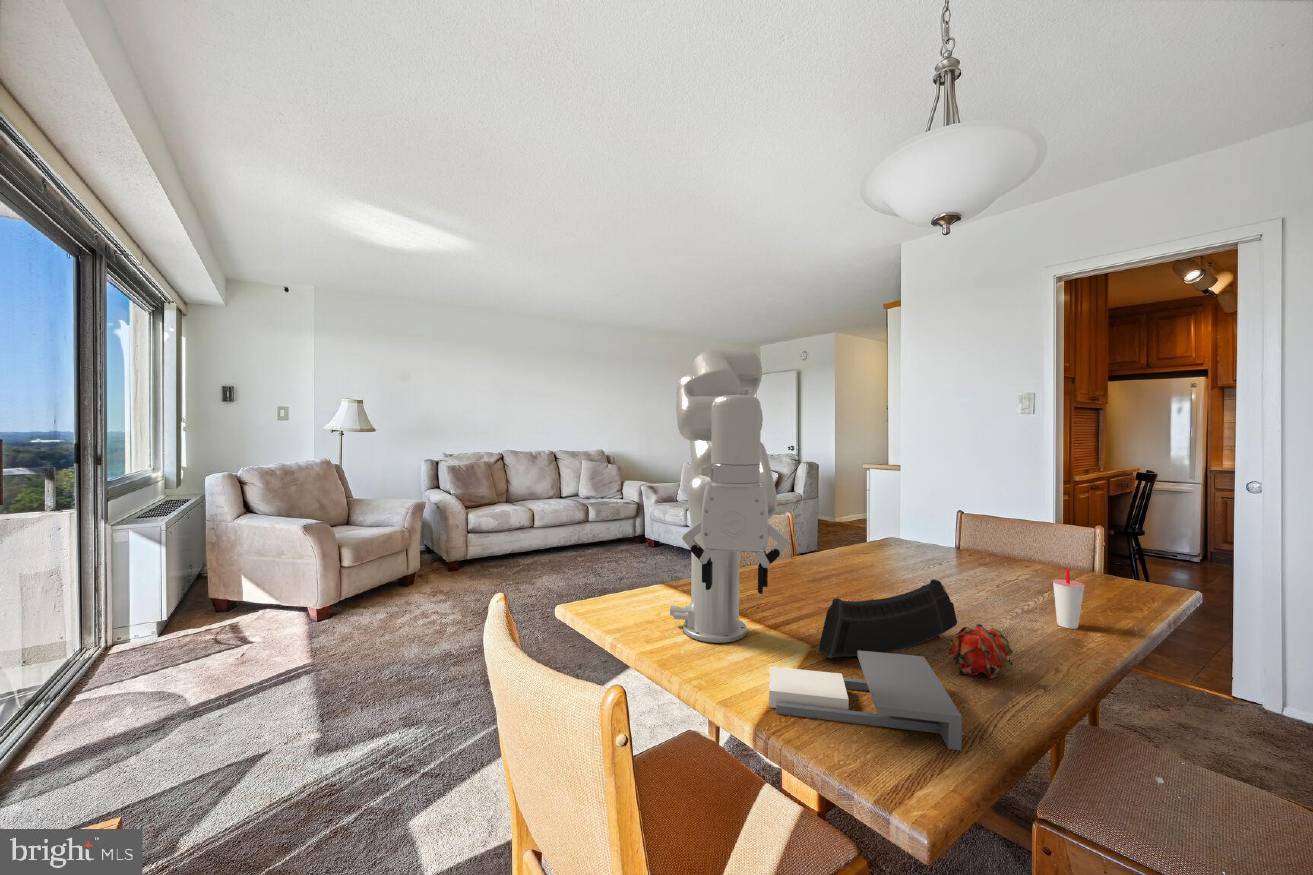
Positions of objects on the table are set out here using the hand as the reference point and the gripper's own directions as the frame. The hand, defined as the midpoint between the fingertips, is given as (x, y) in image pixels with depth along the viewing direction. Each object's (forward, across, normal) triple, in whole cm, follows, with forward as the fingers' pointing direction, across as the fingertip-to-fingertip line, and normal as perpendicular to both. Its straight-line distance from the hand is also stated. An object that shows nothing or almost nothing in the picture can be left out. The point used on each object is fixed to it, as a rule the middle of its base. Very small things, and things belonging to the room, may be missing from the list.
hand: (734, 588), depth 83 cm
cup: (+16, +66, +43) cm, 80 cm away
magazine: (+16, +27, +23) cm, 39 cm away
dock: (+16, +18, 0) cm, 24 cm away
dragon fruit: (+16, +40, +15) cm, 45 cm away
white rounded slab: (+16, +11, 0) cm, 19 cm away
